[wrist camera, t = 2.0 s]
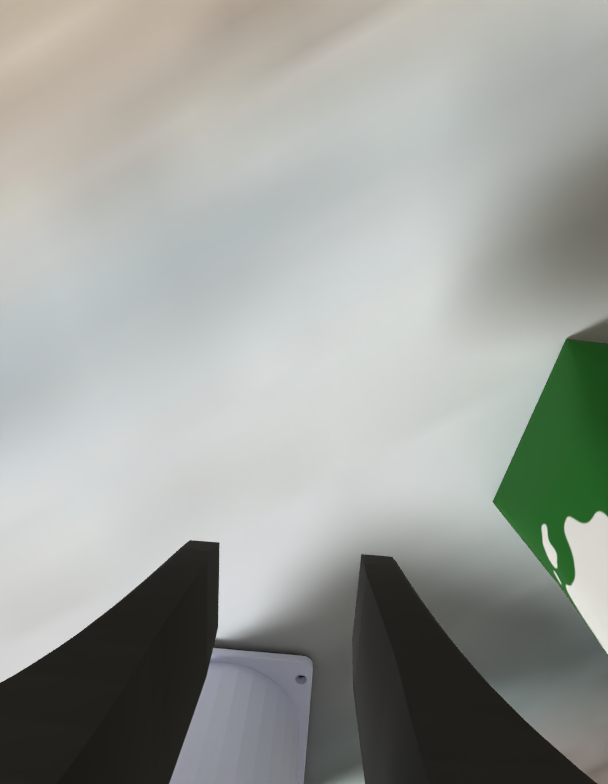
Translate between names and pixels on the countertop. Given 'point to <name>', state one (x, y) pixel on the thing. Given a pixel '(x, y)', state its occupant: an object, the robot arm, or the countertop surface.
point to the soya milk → (567, 481)
